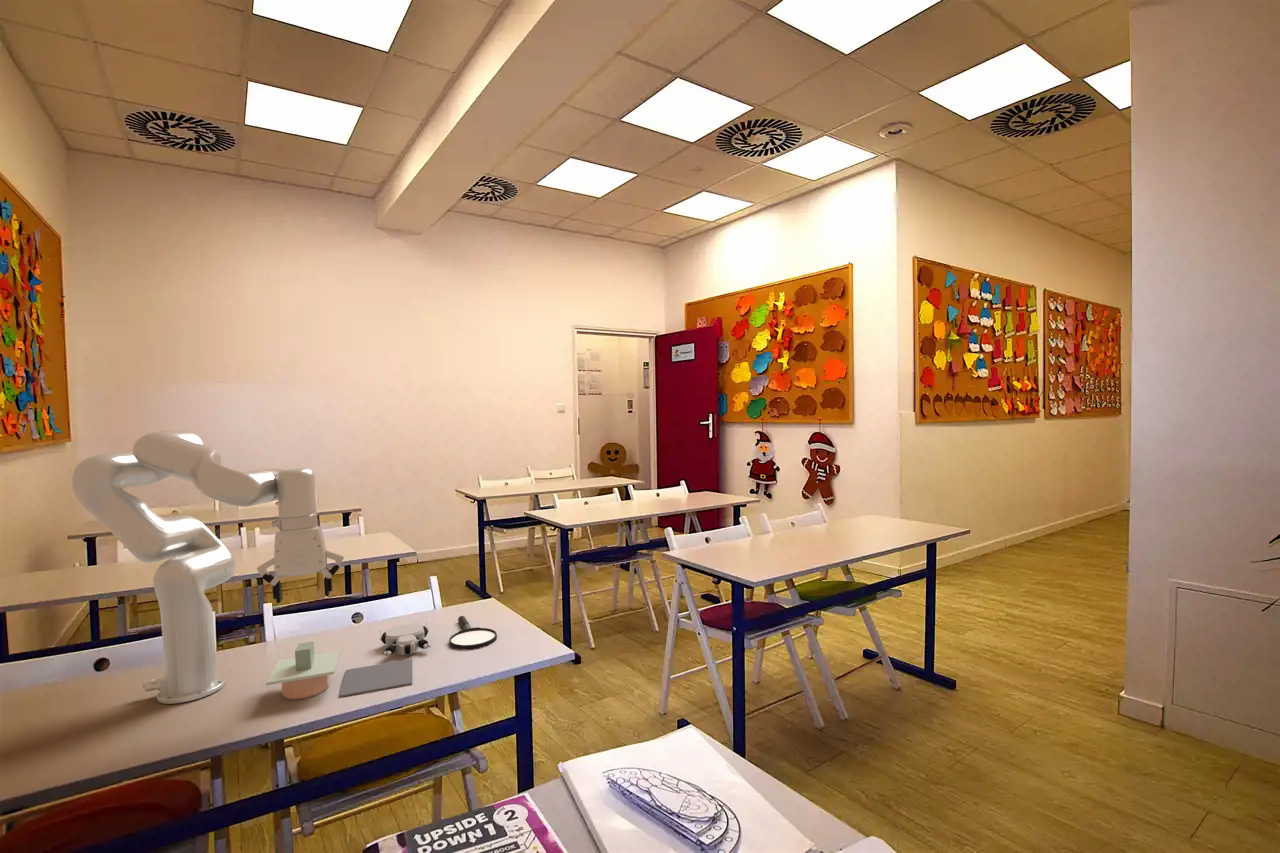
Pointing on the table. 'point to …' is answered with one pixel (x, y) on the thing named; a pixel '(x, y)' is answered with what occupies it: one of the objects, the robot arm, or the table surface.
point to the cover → (304, 665)
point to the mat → (377, 677)
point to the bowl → (305, 687)
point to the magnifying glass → (471, 636)
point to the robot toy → (405, 638)
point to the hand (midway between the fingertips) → (303, 598)
